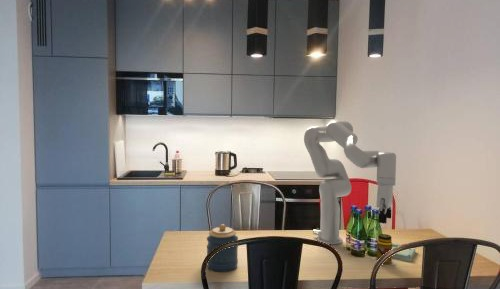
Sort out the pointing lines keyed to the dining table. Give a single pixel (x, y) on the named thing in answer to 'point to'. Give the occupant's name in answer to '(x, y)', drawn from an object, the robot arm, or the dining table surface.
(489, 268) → the dining table surface
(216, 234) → the canister
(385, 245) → the condiment
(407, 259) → the socket plate
